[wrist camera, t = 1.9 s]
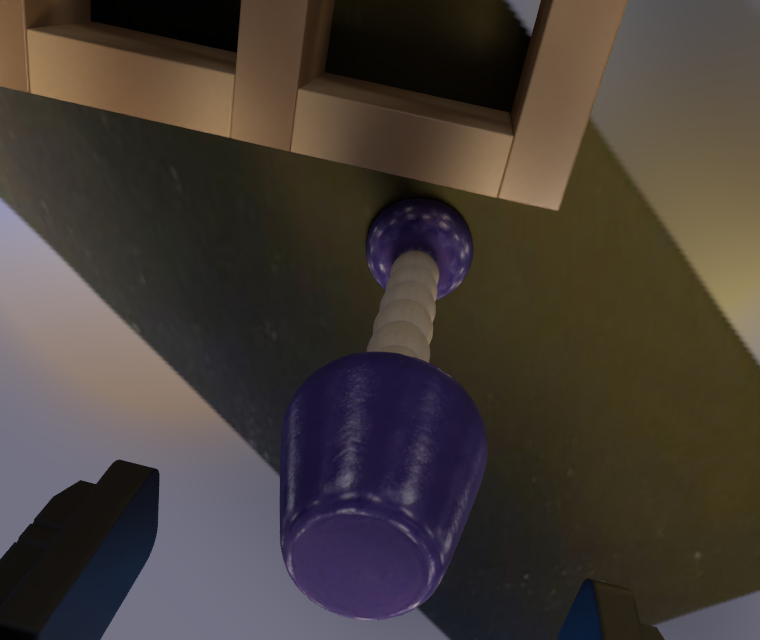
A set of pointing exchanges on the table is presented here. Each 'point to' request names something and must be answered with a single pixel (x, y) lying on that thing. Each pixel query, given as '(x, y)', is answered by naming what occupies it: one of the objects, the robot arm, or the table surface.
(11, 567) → the robot arm
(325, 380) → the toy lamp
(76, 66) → the socket block
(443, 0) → the table surface
